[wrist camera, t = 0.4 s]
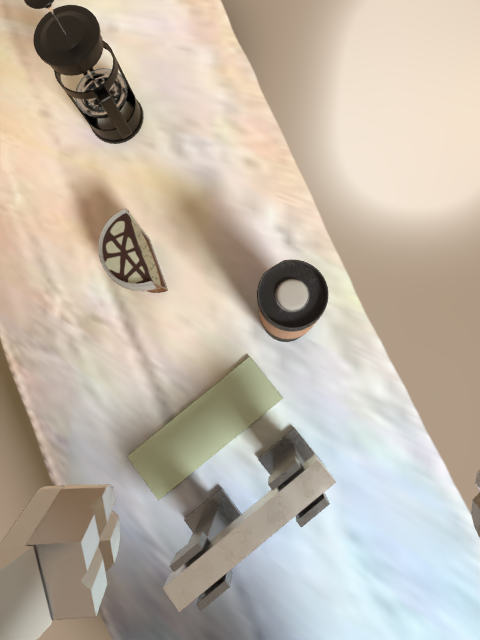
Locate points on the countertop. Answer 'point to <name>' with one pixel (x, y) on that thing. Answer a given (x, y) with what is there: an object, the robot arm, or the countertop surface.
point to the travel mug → (291, 299)
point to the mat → (204, 428)
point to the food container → (129, 255)
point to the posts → (223, 512)
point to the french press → (86, 68)
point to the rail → (248, 532)
